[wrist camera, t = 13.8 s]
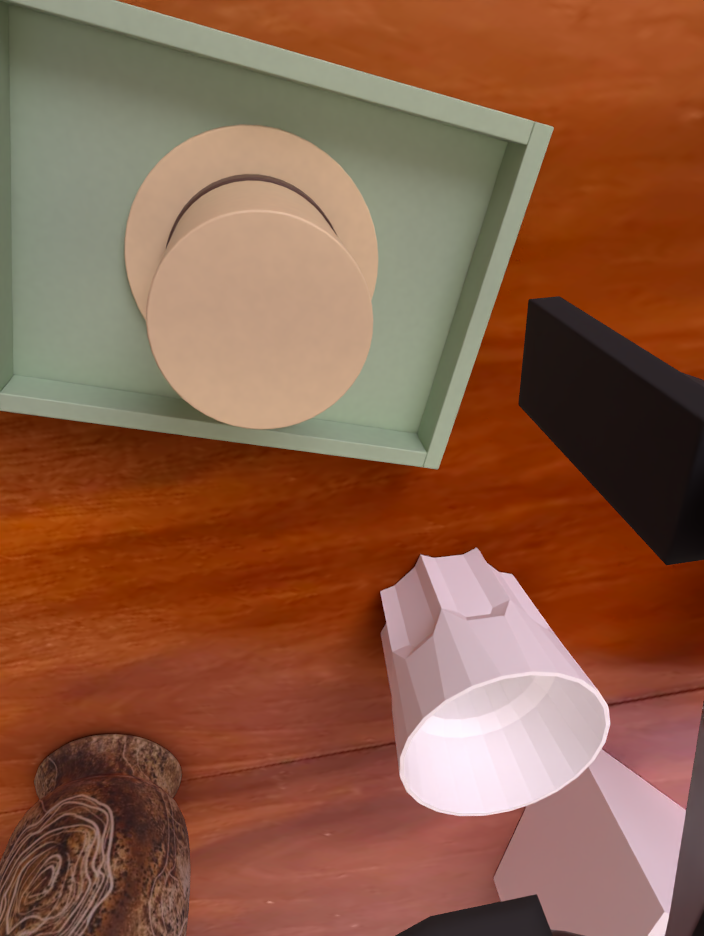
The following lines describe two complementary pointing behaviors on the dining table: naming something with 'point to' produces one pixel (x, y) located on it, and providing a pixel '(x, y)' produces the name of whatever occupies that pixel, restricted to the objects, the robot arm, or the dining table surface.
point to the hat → (253, 275)
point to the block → (598, 854)
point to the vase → (100, 845)
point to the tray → (208, 107)
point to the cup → (483, 691)
